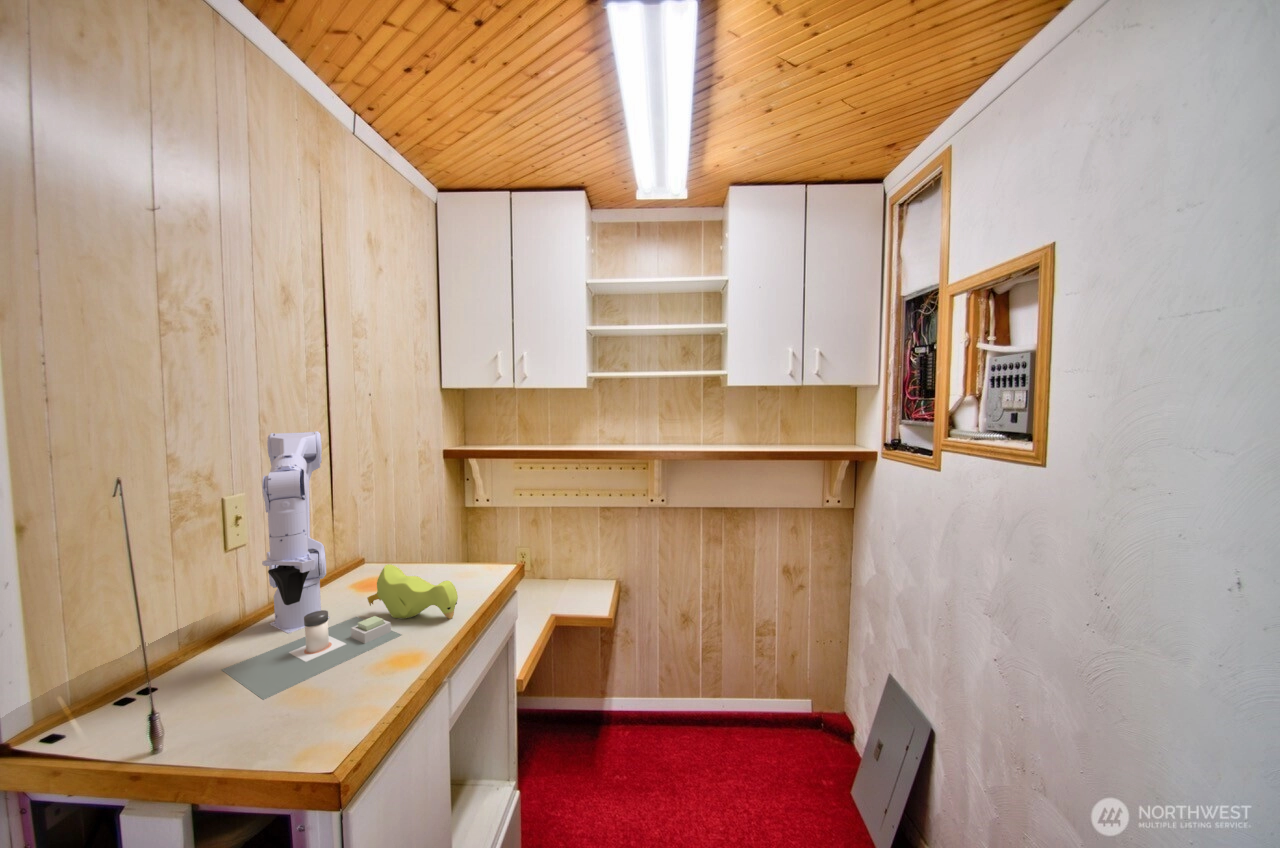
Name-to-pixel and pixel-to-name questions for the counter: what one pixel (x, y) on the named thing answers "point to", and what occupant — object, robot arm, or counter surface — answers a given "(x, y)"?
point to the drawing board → (307, 658)
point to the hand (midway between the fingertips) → (292, 602)
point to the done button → (370, 623)
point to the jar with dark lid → (316, 631)
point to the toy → (412, 594)
